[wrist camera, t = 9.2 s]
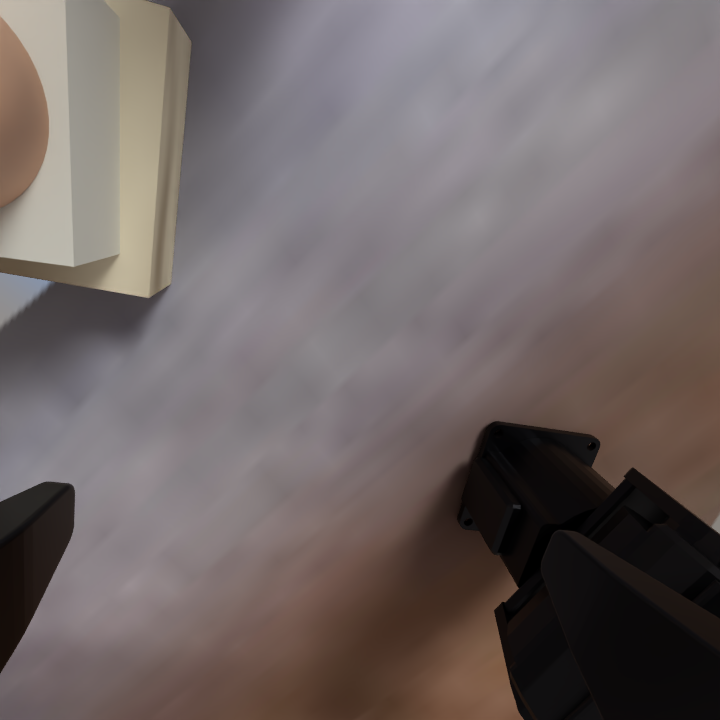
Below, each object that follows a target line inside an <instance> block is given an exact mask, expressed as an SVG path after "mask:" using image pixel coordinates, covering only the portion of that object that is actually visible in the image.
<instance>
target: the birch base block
mask: <svg viewBox="0 0 720 720" xmlns="http://www.w3.org/2000/svg"><path fill="white" fill-rule="evenodd" d="M104 1H105V2H106V3H107V5H108V6H109V7H110V8H111V9H112V10H113V11H114V12H115V13H116V14H117V15H118V16H119V17H120V254H118V255H114V256H111V257H107V258H104V259H100V260H96V261H93V262H89V263H86V264H82V265H79V266H75V267H71V266H64V265H57V264H49V263H42V262H34V261H27V260H20V259H12V258H5V257H0V272H2V273H7V274H13V275H19V276H25V277H30V278H37V279H42V280H48V281H53V282H59V283H65V284H71V285H77V286H82V287H88V288H94V289H100V290H106V291H111V292H117V293H123V294H129V295H135V296H140V297H146V298H150V297H151V296H153V295H154V294H156V293H158V292H159V291H161V290H162V289H164V288H166V287H167V286H169V285H170V284H171V277H172V266H173V254H174V242H175V231H176V219H177V207H178V196H179V184H180V173H181V161H182V149H183V138H184V126H185V114H186V103H187V91H188V79H189V68H190V56H191V44H192V42H191V40H190V39H189V37H188V36H187V34H186V33H185V31H184V29H183V28H182V26H181V25H180V23H179V22H178V20H177V18H176V17H175V15H174V14H173V12H172V10H171V9H170V8H169V7H166V6H162V5H159V4H156V3H152V2H149V1H146V0H104Z"/></svg>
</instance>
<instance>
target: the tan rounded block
mask: <svg viewBox="0 0 720 720" xmlns="http://www.w3.org/2000/svg"><path fill="white" fill-rule="evenodd" d="M48 138H49V115H48V108H47V101H46V97H45V93H44V89H43V86H42V83H41V80H40V78H39V75H38V73H37V70H36V68H35V66H34V64H33V62H32V60H31V58H30V56H29V54H28V52H27V51H26V49H25V48H24V46H23V44H22V43H21V41H20V40H19V38H18V37H17V35H16V34H15V33H14V32H13V30H12V29H11V28H10V27H9V25H8V24H7V23H6V22H5V21H4V20H3V18H2V17H1V16H0V208H2V207H4V206H6V205H7V204H9V203H11V202H12V201H14V200H15V199H16V198H18V197H19V196H20V195H21V194H22V193H23V192H24V191H25V190H26V189H27V188H28V187H29V186H30V184H31V183H32V182H33V180H34V179H35V177H36V176H37V174H38V172H39V170H40V168H41V166H42V163H43V161H44V157H45V154H46V150H47V145H48Z"/></svg>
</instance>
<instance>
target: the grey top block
mask: <svg viewBox="0 0 720 720" xmlns="http://www.w3.org/2000/svg"><path fill="white" fill-rule="evenodd" d="M0 16H1V17H2V18H3V20H4V21H5V22H6V23H7V24H8V25H9V27H10V28H11V29H12V30H13V32H14V33H15V34H16V35H17V37H18V38H19V40H20V41H21V43H22V44H23V46H24V48H25V49H26V51H27V52H28V54H29V56H30V58H31V60H32V62H33V64H34V66H35V68H36V70H37V73H38V75H39V78H40V80H41V83H42V86H43V89H44V93H45V97H46V101H47V108H48V115H49V138H48V145H47V150H46V154H45V157H44V161H43V163H42V166H41V168H40V170H39V172H38V174H37V176H36V177H35V179H34V180H33V182H32V183H31V184H30V186H29V187H28V188H27V189H26V190H25V191H24V192H23V193H22V194H21V195H20V196H19V197H18V198H16V199H15V200H14V201H12V202H11V203H9V204H7V205H6V206H4V207H2V208H0V257H5V258H12V259H20V260H27V261H34V262H42V263H49V264H57V265H64V266H71V267H75V266H79V265H82V264H86V263H89V262H93V261H96V260H100V259H104V258H107V257H111V256H114V255H118V254H120V17H119V16H118V15H117V14H116V13H115V12H114V11H113V10H112V9H111V8H110V7H109V6H108V5H107V3H106V2H105V1H104V0H0Z"/></svg>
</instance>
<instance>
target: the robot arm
mask: <svg viewBox="0 0 720 720" xmlns="http://www.w3.org/2000/svg"><path fill="white" fill-rule="evenodd" d="M498 429H500V431H499V433H497V434H494V432H495V431H496V430H498ZM589 443H591V444H590V446H588V444H589ZM587 446H588V447H587ZM599 448H600V441H599V440H598V439H597V438H595V437H594V436H592V435H589V434H582V433H575V432H568V431H561V430H555V429H548V428H541V427H534V426H527V425H520V424H513V423H506V422H500V421H495V422H492V423H491V424H490V425H488V427H487V429H486V432H485V435H484V438H483V441H482V444H481V447H480V450H479V453H478V456H477V458H476V459H475V460H474V462H473V465H472V468H471V471H470V474H469V477H468V480H467V483H466V486H465V489H464V492H463V495H462V501H463V502H462V505H461V508H460V511H459V514H458V517H457V520H458V522H459V524H460V526H461V527H462V528H463V529H466V530H477V531H480V533H481V535H482V536H483V538H484V540H485V542H486V544H487V545H488V547H489V549H490V550H491V552H492V553H493V554H494V555H500V557H501V559H502V560H503V562H504V564H505V566H506V567H507V569H508V571H509V572H510V574H511V576H512V578H513V579H514V581H515V583H516V584H517V586H518V588H519V589H518V590H517V591H516V592H515V593H514V594H513V595H512V596H511V597H510V598H509V599H508V600H507V601H506V602H502V603H501V604H500V605H499V606H498V607H497V608H496V609H495V610H494V613H495V617H496V622H497V626H498V631H499V635H500V640H501V644H502V649H503V653H504V658H505V662H506V667H507V671H508V676H509V680H510V685H511V688H512V692H513V695H514V698H515V700H516V705H517V708H518V711H519V713H520V715H521V716H522V717H523V719H524V720H720V534H719V533H718V532H717V531H715V530H714V529H713V528H711V527H710V526H709V525H708V524H706V523H705V522H704V521H702V520H701V519H700V518H699V517H697V516H696V515H695V514H693V513H692V512H691V511H689V510H688V509H687V508H685V507H684V506H683V505H682V504H680V503H679V502H678V501H676V500H675V499H674V498H672V497H671V496H670V495H668V494H667V493H666V492H664V491H663V490H662V489H661V488H659V487H658V486H657V485H655V484H654V483H653V482H651V481H650V480H649V479H647V478H646V477H645V476H644V475H642V474H641V473H640V472H638V471H637V470H636V469H634V468H633V467H632V468H631V469H630V470H629V471H628V472H627V473H626V474H625V475H624V477H625V479H624V480H623V481H622V483H621V484H620V485H619V486H618V487H617V488H616V489H615V488H614V487H613V486H612V485H610V484H609V483H608V482H607V481H606V480H605V479H604V478H603V477H601V476H600V475H599V474H598V473H597V472H596V471H595V470H594V469H592V468H591V467H592V464H593V462H594V460H595V457H596V455H597V453H598V450H599ZM74 509H75V490H74V487H73V486H72V485H71V484H69V483H59V482H43V483H41V484H38V485H36V486H34V487H32V488H30V489H28V490H25V491H23V492H21V493H19V494H17V495H14V496H12V497H10V498H8V499H6V500H3V501H1V502H0V673H1V671H2V670H3V668H4V666H5V665H6V663H7V662H8V660H9V658H10V657H11V655H12V653H13V652H14V650H15V649H16V647H17V645H18V643H19V642H20V640H21V638H22V637H23V635H24V633H25V631H26V629H27V627H28V625H29V623H30V621H31V620H32V618H33V616H34V614H35V611H36V609H37V607H38V605H39V603H40V601H41V599H42V597H43V595H44V593H45V591H46V589H47V587H48V585H49V583H50V580H51V578H52V576H53V574H54V572H55V570H56V568H57V566H58V564H59V562H60V560H61V558H62V556H63V554H64V552H65V550H66V547H67V545H68V543H69V541H70V539H71V536H72V533H73V529H74ZM467 518H470V519H469V520H467V521H465V520H466V519H467Z"/></svg>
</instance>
